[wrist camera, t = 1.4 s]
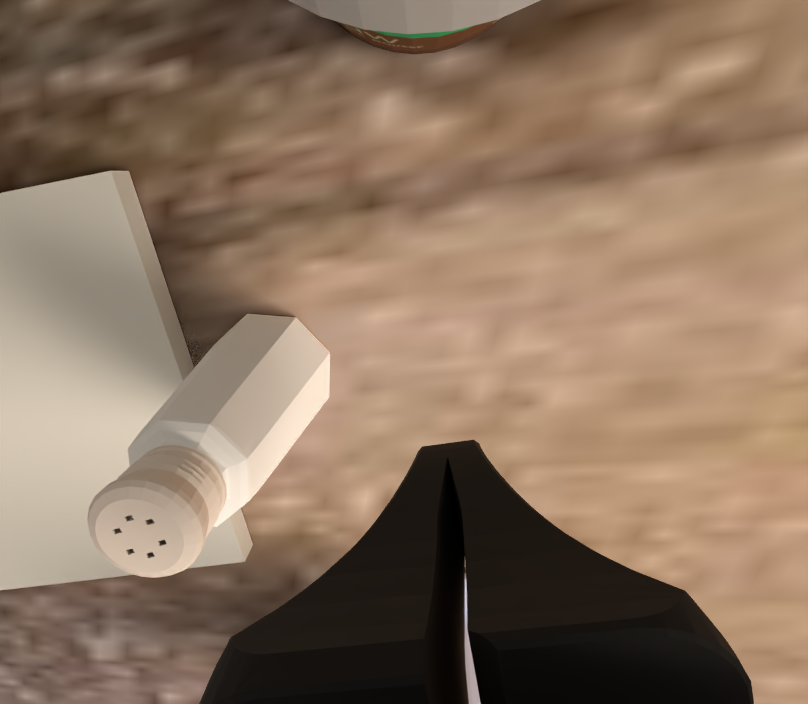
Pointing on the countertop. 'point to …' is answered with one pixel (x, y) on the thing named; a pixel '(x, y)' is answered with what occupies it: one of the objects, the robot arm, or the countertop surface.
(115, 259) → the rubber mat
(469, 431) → the countertop surface
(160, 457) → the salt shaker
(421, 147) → the countertop surface
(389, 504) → the robot arm
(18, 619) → the countertop surface
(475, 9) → the food container
